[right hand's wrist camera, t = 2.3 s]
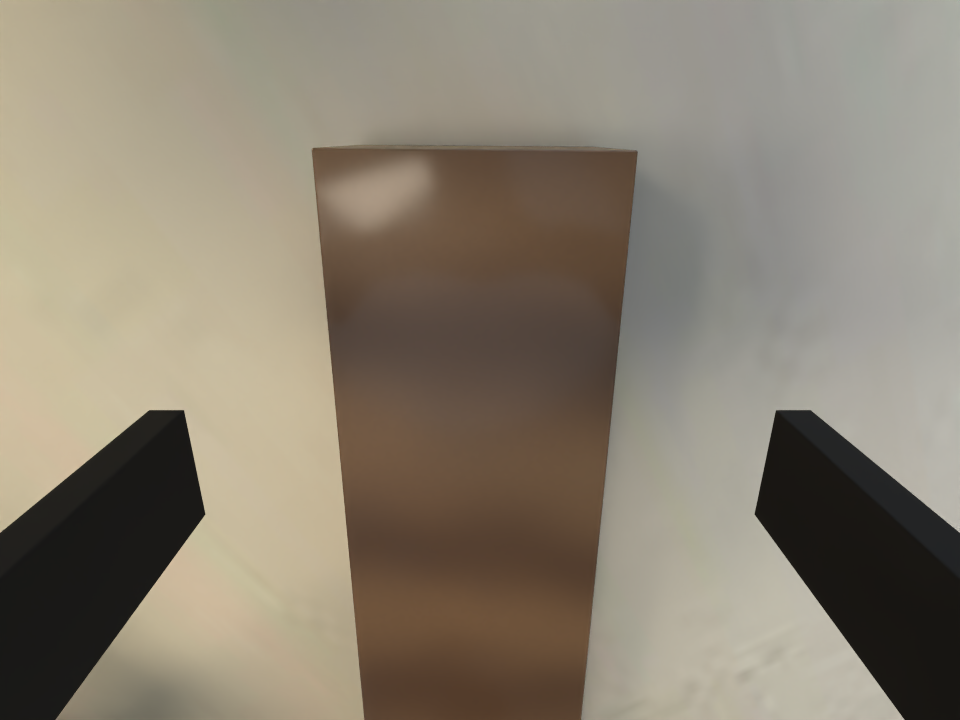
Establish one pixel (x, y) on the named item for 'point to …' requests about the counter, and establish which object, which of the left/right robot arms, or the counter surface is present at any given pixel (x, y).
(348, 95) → the counter surface
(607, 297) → the thick board
